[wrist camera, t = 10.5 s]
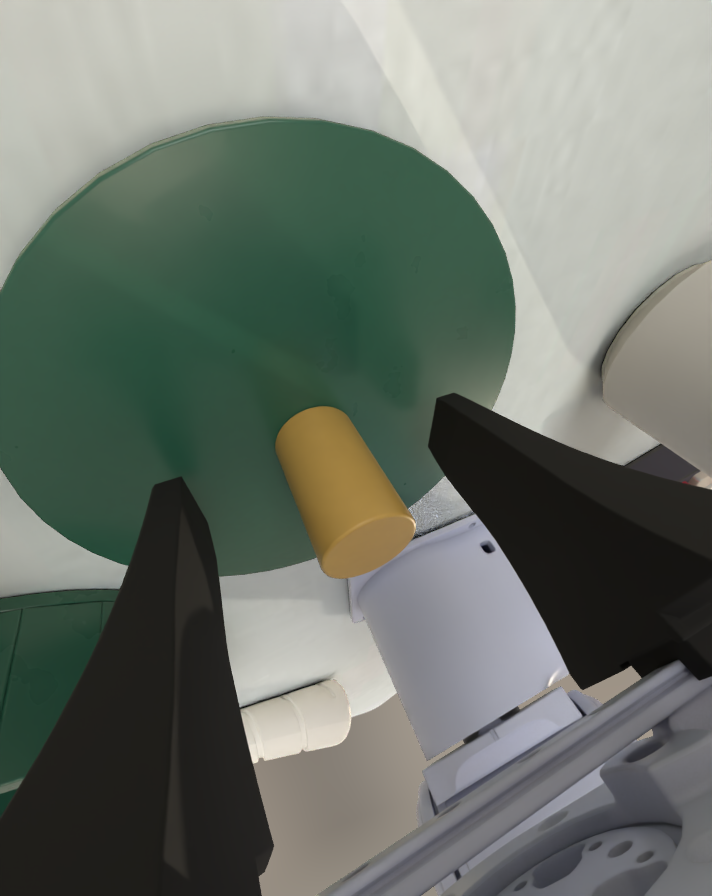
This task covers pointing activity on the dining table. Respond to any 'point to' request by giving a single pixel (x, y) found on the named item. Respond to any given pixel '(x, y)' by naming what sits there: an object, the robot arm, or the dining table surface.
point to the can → (668, 367)
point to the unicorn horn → (297, 721)
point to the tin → (41, 669)
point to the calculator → (670, 467)
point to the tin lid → (251, 342)
